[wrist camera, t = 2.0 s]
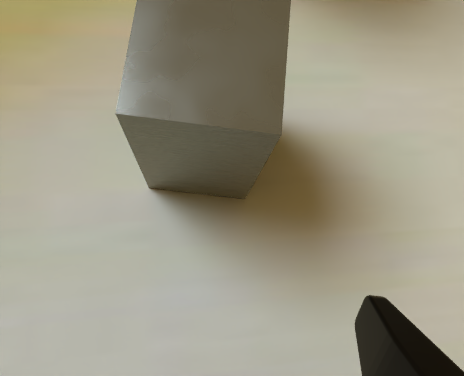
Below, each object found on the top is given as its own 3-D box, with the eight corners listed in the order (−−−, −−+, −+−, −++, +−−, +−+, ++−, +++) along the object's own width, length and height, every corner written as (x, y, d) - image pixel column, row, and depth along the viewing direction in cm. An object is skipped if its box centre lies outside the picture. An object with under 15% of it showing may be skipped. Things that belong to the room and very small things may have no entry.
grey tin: (244, 198, 23) (281, 134, 13) (149, 187, 23) (115, 113, 13) (252, 111, 24) (290, -3, 15) (162, 99, 24) (141, -26, 14)
